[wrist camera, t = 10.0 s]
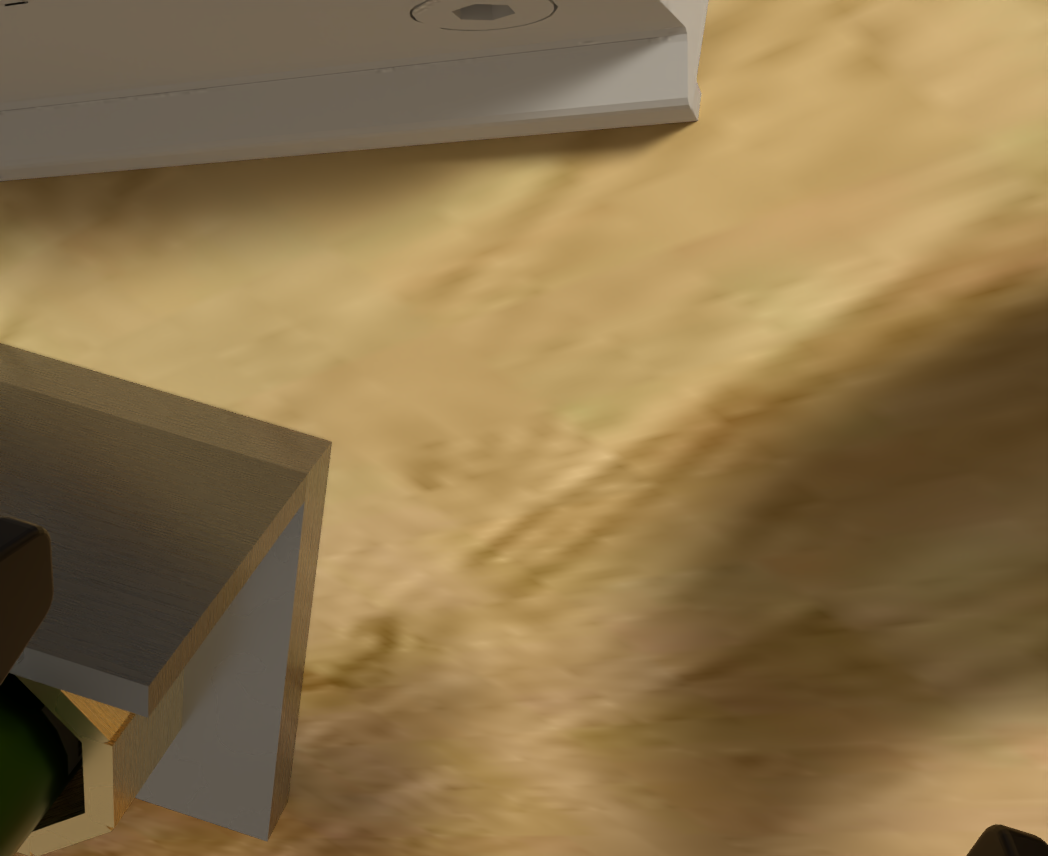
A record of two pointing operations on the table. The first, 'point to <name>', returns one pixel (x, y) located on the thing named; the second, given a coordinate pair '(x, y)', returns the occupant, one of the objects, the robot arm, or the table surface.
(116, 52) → the white slotted casing
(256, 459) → the cup bracket
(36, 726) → the green soda can
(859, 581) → the table surface
